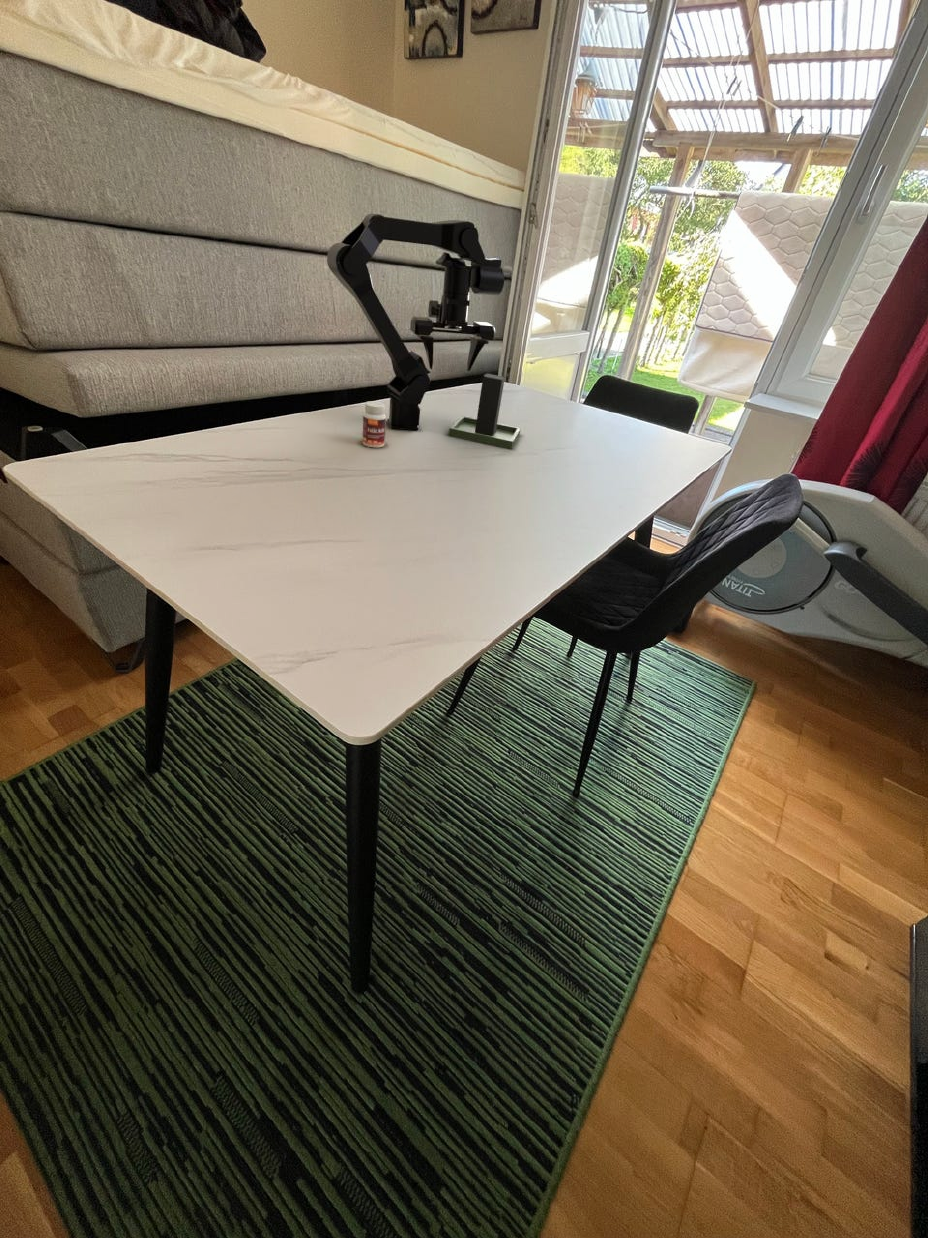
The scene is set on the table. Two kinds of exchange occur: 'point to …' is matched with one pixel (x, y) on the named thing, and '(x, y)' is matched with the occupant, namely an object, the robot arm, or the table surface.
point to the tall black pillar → (489, 404)
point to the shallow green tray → (466, 430)
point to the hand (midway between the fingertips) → (449, 369)
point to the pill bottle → (374, 424)
